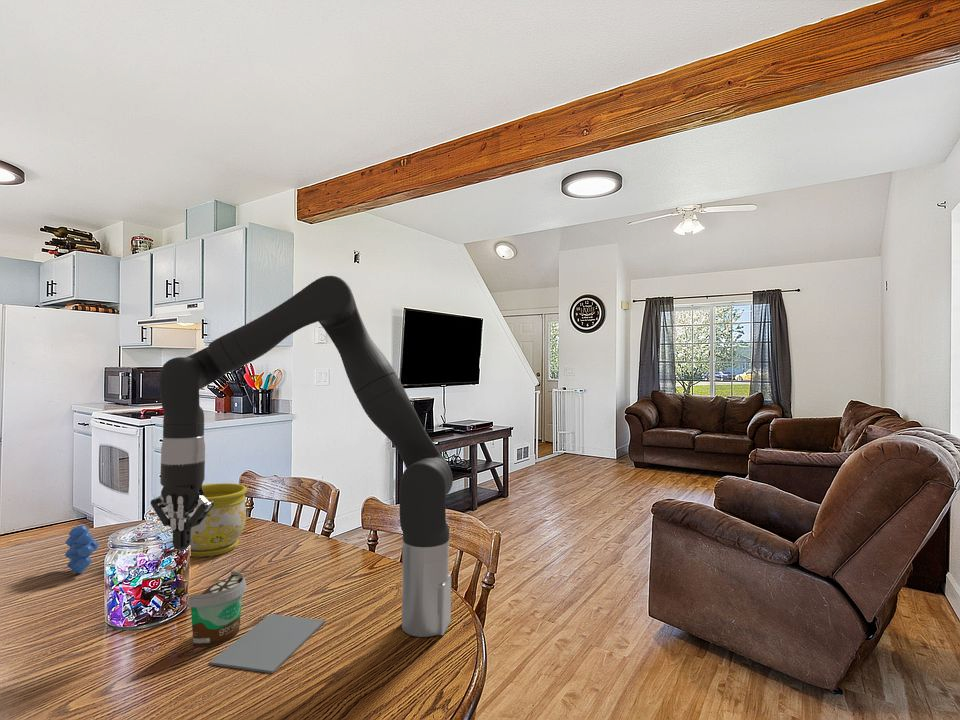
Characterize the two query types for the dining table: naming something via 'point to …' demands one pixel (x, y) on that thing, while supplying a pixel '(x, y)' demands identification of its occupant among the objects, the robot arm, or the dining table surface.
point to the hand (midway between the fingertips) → (181, 548)
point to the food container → (217, 611)
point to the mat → (268, 643)
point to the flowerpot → (220, 520)
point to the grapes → (80, 548)
